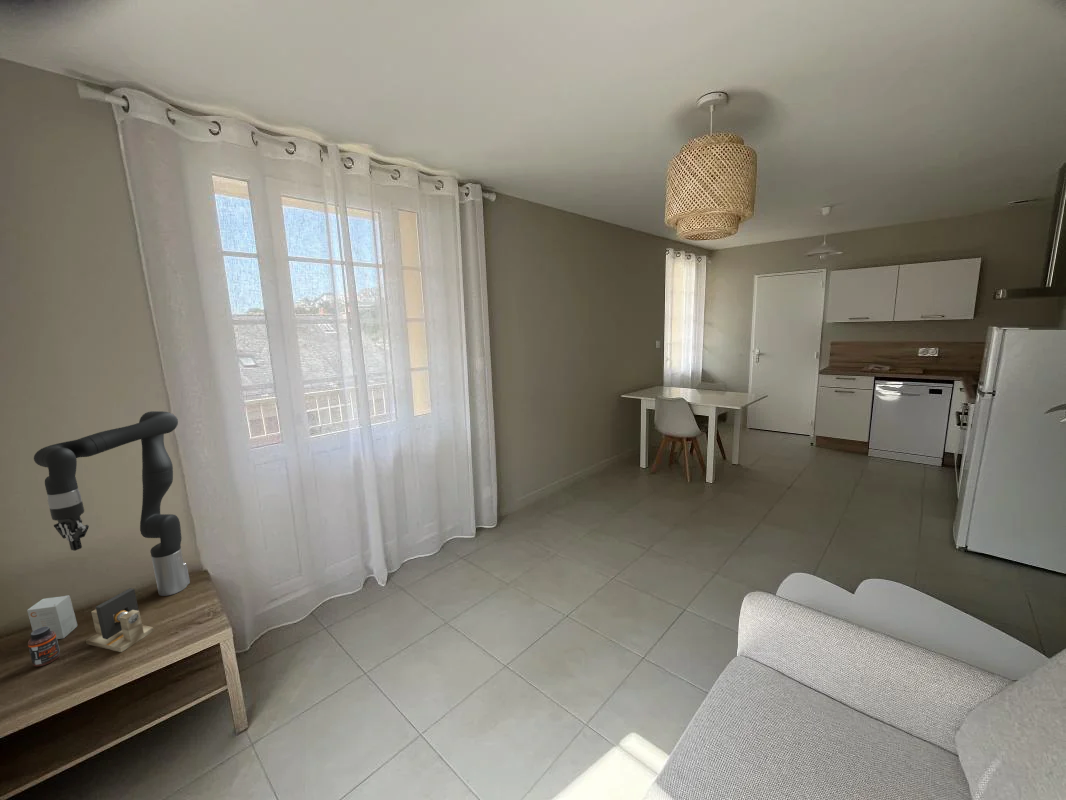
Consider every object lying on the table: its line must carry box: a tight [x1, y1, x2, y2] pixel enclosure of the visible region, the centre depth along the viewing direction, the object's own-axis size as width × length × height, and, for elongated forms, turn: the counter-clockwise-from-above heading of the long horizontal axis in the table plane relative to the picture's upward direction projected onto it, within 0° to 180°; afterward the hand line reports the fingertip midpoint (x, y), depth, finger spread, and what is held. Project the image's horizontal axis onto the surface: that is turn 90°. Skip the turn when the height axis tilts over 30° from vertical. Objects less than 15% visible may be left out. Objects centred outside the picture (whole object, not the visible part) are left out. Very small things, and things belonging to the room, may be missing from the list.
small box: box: [26, 595, 78, 640], centre depth 146 cm, size 8×6×13 cm
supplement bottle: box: [27, 626, 61, 667], centre depth 135 cm, size 6×6×11 cm
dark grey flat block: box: [95, 587, 140, 639], centre depth 144 cm, size 10×2×12 cm, turn 167°
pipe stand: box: [85, 608, 155, 653], centre depth 145 cm, size 10×16×11 cm, turn 77°
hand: (76, 549), depth 144 cm, fingers closed
